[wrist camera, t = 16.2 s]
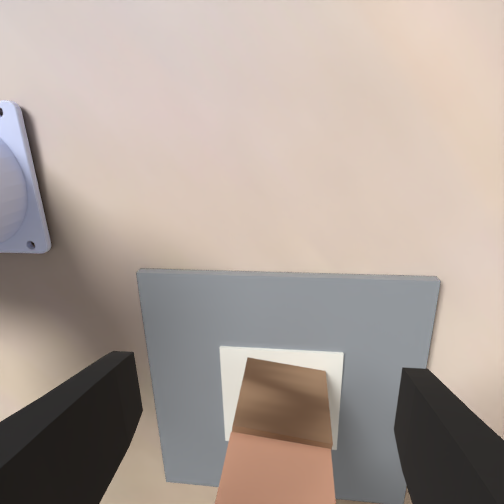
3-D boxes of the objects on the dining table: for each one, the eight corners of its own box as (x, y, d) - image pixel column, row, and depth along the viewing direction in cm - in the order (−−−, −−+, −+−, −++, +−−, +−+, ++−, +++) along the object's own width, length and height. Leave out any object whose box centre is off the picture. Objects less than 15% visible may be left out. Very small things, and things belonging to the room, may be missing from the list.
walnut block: (239, 417, 23) (223, 494, 18) (247, 357, 21) (232, 425, 16) (311, 430, 22) (314, 513, 18) (325, 370, 21) (332, 444, 16)
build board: (169, 473, 26) (165, 484, 26) (140, 268, 21) (134, 274, 20) (400, 496, 24) (404, 508, 24) (436, 276, 19) (442, 282, 18)
